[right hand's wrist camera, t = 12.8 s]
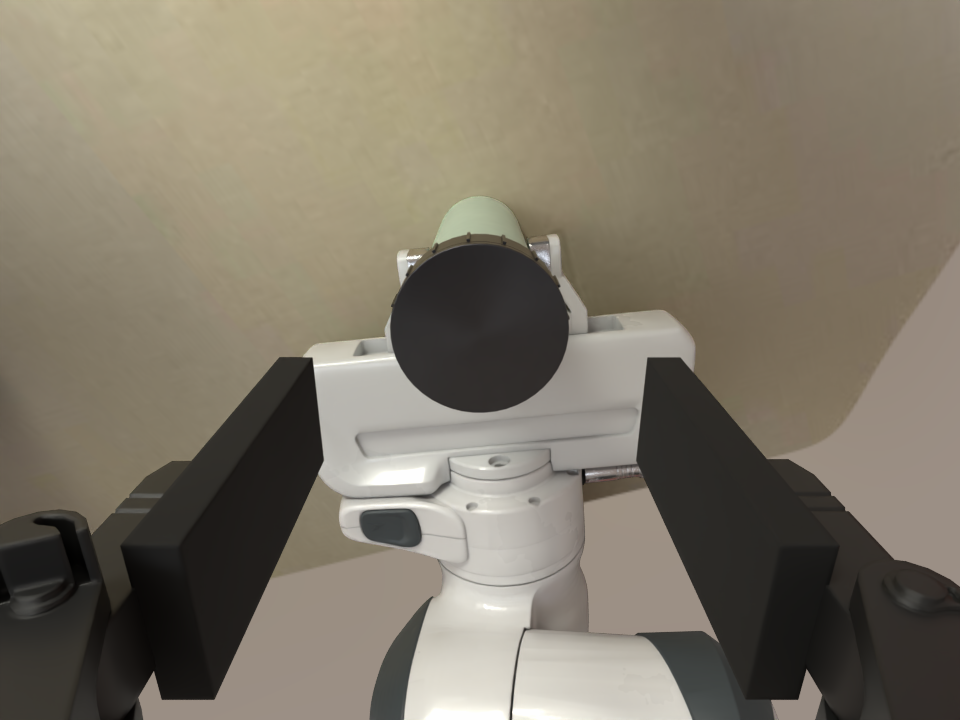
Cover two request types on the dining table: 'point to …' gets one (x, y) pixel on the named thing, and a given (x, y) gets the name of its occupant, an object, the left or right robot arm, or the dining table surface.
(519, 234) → the jar
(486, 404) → the lid
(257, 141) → the dining table surface
